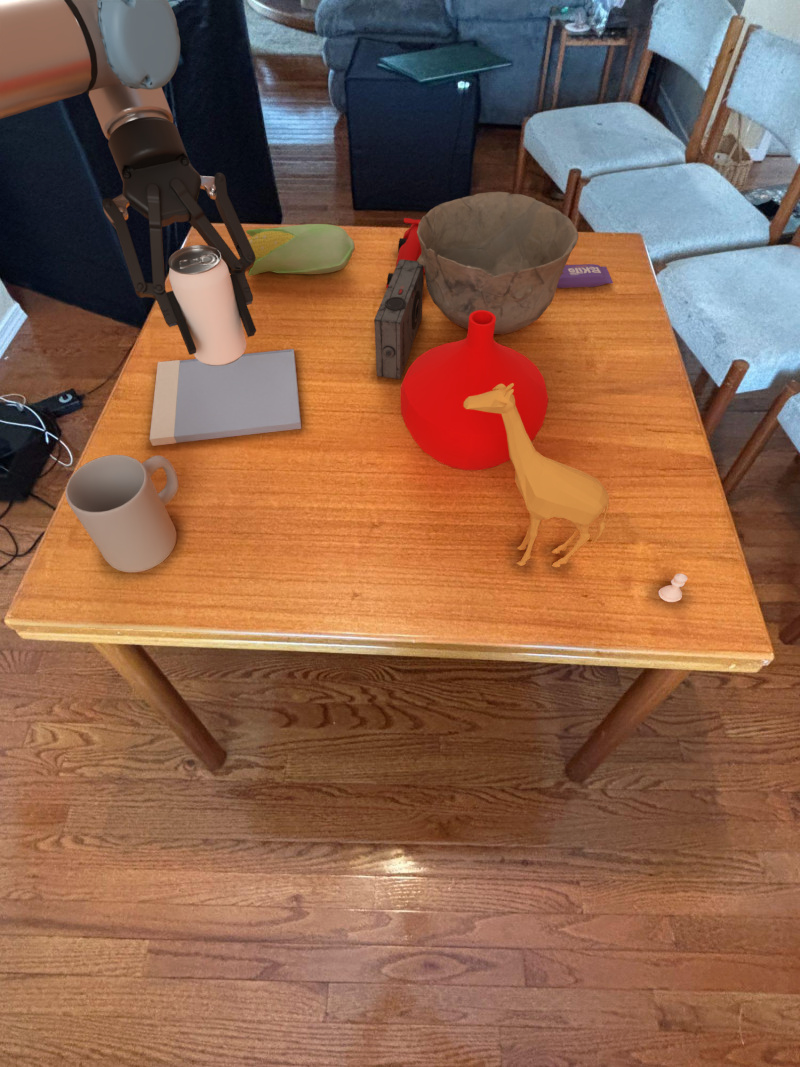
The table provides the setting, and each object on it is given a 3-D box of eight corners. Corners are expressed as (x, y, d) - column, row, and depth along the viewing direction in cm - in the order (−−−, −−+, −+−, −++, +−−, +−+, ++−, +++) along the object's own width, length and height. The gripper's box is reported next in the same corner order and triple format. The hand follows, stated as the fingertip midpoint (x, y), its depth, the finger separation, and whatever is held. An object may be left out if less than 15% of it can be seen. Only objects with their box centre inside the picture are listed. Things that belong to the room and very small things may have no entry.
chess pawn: (678, 587, 72) (691, 567, 68) (683, 602, 70) (697, 583, 67) (655, 587, 72) (667, 568, 68) (660, 603, 70) (672, 584, 67)
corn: (352, 261, 102) (229, 264, 103) (357, 283, 111) (243, 285, 111) (352, 211, 103) (229, 214, 103) (356, 236, 111) (243, 239, 111)
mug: (139, 585, 72) (102, 527, 63) (88, 552, 75) (46, 492, 66) (212, 515, 78) (187, 453, 69) (162, 487, 81) (132, 424, 72)
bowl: (390, 314, 102) (389, 222, 90) (486, 265, 111) (496, 175, 98) (488, 383, 92) (501, 290, 80) (585, 323, 101) (610, 231, 89)
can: (252, 360, 77) (230, 268, 67) (198, 372, 75) (168, 280, 66) (241, 329, 80) (219, 238, 71) (190, 340, 79) (160, 249, 69)
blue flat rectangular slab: (152, 446, 85) (149, 439, 84) (160, 368, 95) (157, 361, 94) (301, 429, 87) (300, 422, 86) (294, 355, 96) (293, 348, 95)
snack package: (607, 261, 108) (615, 278, 105) (604, 271, 109) (612, 288, 106) (540, 263, 107) (545, 280, 104) (538, 273, 109) (543, 291, 106)
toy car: (384, 301, 104) (383, 273, 100) (402, 244, 115) (402, 216, 111) (419, 304, 104) (420, 276, 100) (434, 247, 114) (435, 219, 110)
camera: (400, 385, 92) (400, 326, 84) (374, 381, 93) (371, 322, 85) (423, 318, 102) (424, 259, 94) (399, 315, 102) (398, 256, 94)
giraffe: (448, 564, 74) (463, 399, 53) (450, 533, 76) (467, 366, 56) (591, 578, 72) (663, 415, 52) (589, 546, 75) (657, 380, 55)
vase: (372, 451, 84) (365, 328, 69) (450, 378, 93) (459, 254, 78) (489, 516, 78) (510, 396, 62) (561, 431, 86) (596, 308, 71)
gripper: (225, 132, 75) (296, 326, 79) (55, 167, 69) (141, 373, 74) (229, 96, 67) (306, 311, 72) (40, 133, 62) (136, 362, 67)
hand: (222, 342), depth 73 cm, fingers closed on can, 6 cm apart
